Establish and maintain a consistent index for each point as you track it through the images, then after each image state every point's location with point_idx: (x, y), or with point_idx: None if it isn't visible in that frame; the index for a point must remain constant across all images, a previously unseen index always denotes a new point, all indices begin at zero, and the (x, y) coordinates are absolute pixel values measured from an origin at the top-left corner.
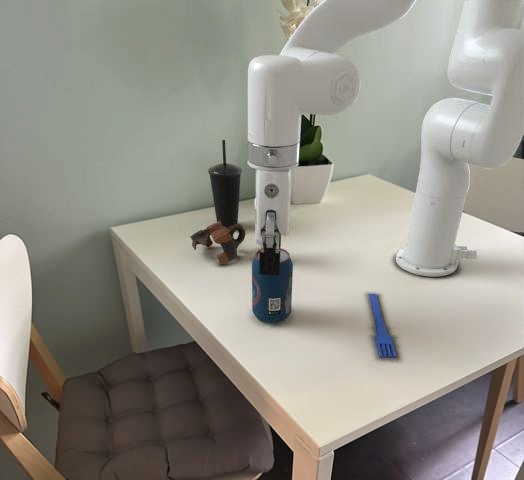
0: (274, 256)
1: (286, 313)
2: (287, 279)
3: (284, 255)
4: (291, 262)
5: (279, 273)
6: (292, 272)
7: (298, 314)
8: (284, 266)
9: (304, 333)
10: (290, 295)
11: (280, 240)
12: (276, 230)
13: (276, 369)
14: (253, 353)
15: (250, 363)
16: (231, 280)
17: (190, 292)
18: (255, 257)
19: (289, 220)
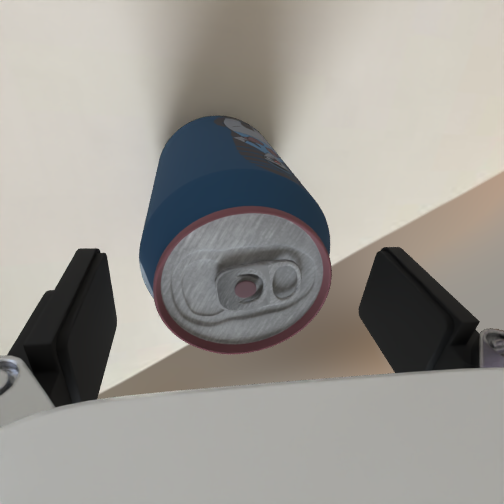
0: (475, 332)
1: (263, 137)
2: (298, 180)
3: (232, 232)
4: (258, 184)
5: (328, 231)
6: (257, 160)
7: (206, 83)
8: (316, 222)
9: (313, 73)
10: (255, 138)
11: (86, 274)
12: (77, 348)
13: (439, 160)
14: (371, 210)
15: (402, 215)
16: (28, 285)
17: (120, 355)
18: (253, 345)
19: (488, 470)
